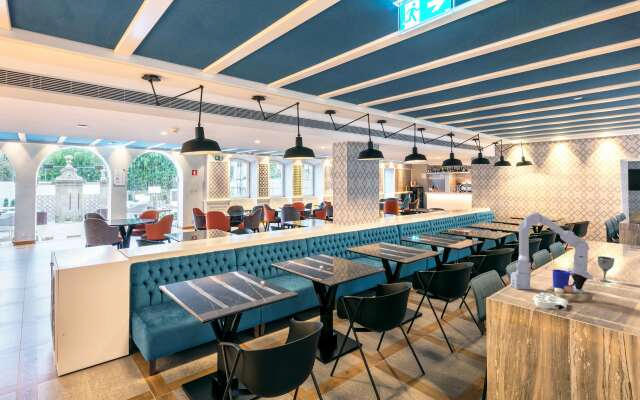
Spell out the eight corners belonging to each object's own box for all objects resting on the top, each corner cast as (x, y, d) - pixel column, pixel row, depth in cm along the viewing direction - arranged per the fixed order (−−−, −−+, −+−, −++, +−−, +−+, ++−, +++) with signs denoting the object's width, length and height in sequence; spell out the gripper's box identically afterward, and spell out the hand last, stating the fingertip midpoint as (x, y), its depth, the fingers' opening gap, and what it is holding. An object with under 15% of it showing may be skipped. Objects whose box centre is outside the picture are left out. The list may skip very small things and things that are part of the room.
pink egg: (567, 294, 172) (568, 288, 171) (562, 291, 176) (562, 285, 175) (575, 294, 172) (575, 288, 171) (569, 291, 176) (569, 285, 175)
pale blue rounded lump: (577, 296, 172) (577, 290, 171) (571, 293, 176) (572, 288, 175) (585, 296, 172) (585, 290, 171) (579, 294, 176) (579, 288, 175)
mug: (579, 291, 184) (580, 274, 184) (555, 289, 187) (556, 272, 186) (571, 287, 192) (572, 270, 192) (548, 285, 195) (549, 268, 194)
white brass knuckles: (564, 313, 152) (527, 305, 162) (568, 303, 166) (534, 296, 175) (565, 306, 152) (528, 298, 162) (568, 297, 165) (534, 290, 175)
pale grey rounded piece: (557, 295, 172) (558, 289, 171) (552, 293, 176) (552, 287, 175) (565, 296, 172) (565, 290, 171) (559, 293, 176) (560, 287, 175)
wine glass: (599, 281, 205) (600, 258, 205) (594, 278, 213) (595, 255, 212) (615, 283, 202) (616, 259, 202) (609, 280, 210) (611, 257, 209)
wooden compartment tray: (559, 300, 169) (559, 294, 169) (545, 294, 179) (546, 288, 179) (592, 301, 169) (592, 295, 168) (576, 294, 179) (577, 289, 178)
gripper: (599, 267, 165) (597, 293, 166) (577, 260, 180) (575, 284, 181) (585, 267, 165) (583, 293, 166) (564, 260, 180) (562, 284, 181)
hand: (578, 289), depth 173 cm, fingers closed
